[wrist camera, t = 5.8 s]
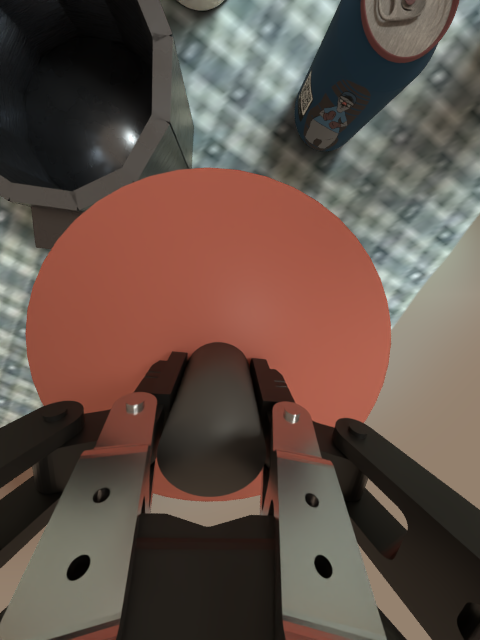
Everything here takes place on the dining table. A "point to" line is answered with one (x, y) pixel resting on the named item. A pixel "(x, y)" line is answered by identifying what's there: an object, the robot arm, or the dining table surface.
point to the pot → (86, 104)
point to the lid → (210, 316)
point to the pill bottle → (200, 4)
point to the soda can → (366, 64)
